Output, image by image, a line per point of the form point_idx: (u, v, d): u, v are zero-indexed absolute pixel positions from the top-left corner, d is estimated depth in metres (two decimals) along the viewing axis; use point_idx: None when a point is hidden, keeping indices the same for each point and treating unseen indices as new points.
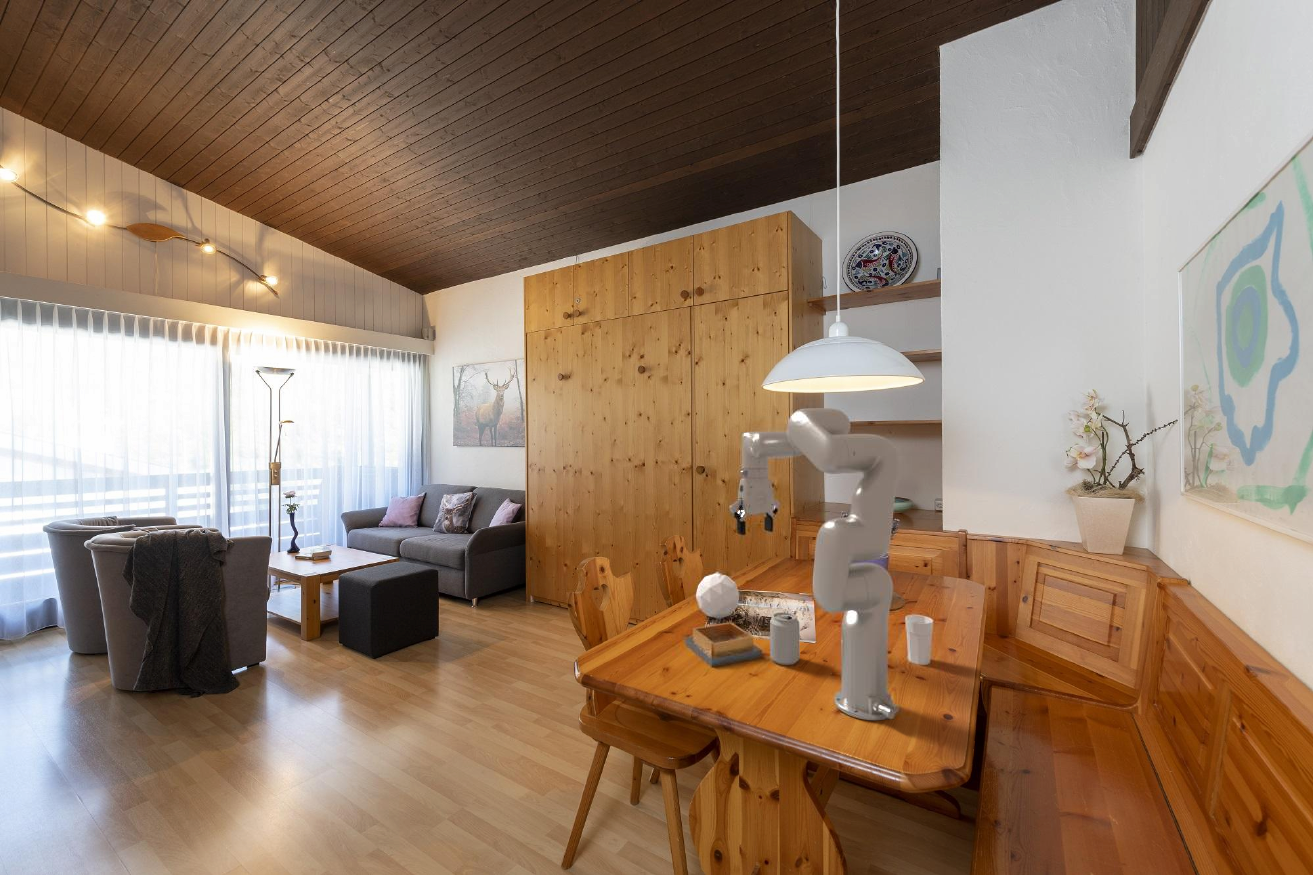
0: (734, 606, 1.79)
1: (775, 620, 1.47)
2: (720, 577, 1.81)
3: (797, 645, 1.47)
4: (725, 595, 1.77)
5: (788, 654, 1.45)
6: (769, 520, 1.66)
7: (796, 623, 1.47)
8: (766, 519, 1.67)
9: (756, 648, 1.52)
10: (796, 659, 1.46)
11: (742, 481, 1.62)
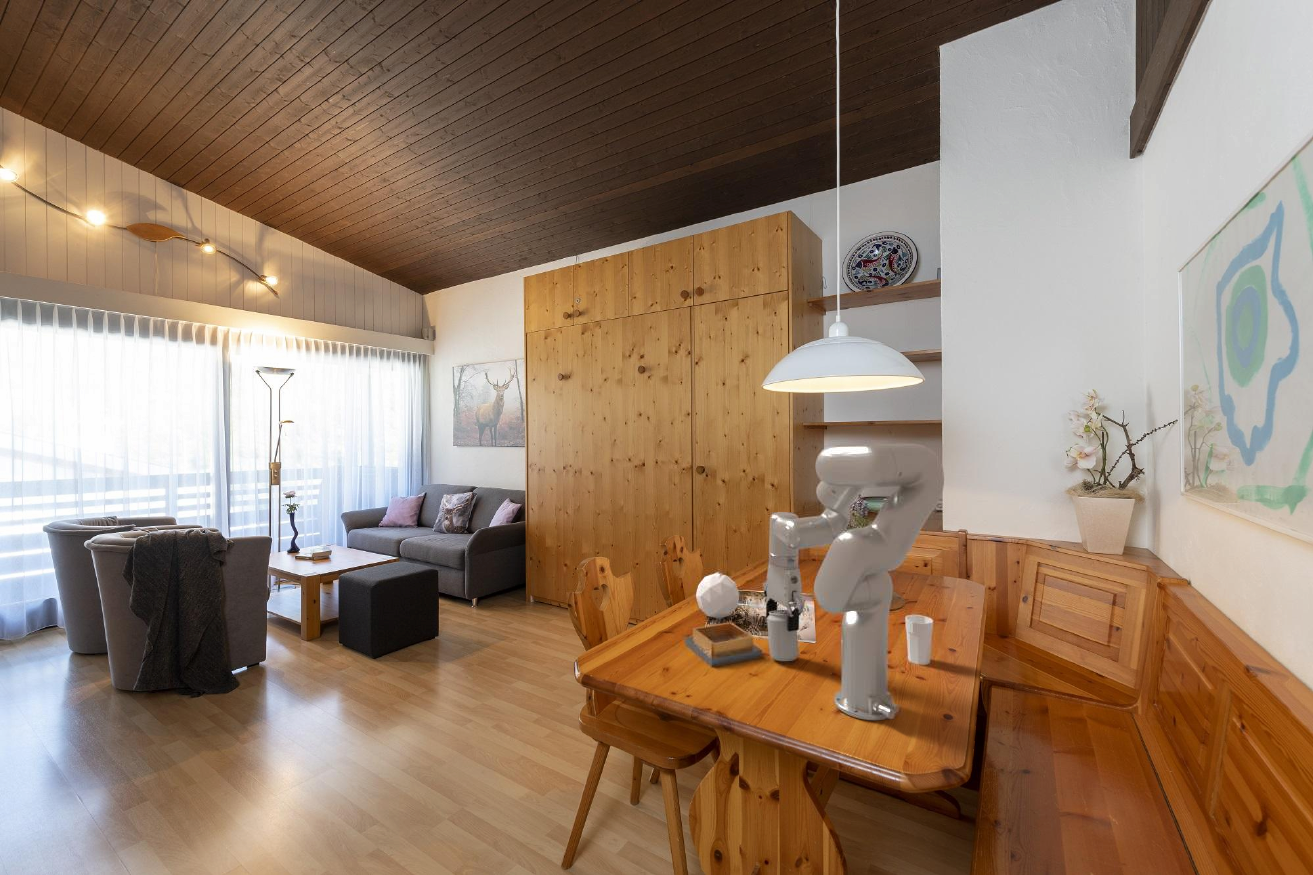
0: (734, 606, 1.79)
1: (771, 616, 1.49)
2: (720, 577, 1.81)
3: (795, 640, 1.47)
4: (725, 595, 1.77)
5: (787, 648, 1.46)
6: (775, 605, 1.54)
7: None
8: (771, 605, 1.54)
9: (756, 648, 1.52)
10: (795, 654, 1.47)
11: (793, 571, 1.45)
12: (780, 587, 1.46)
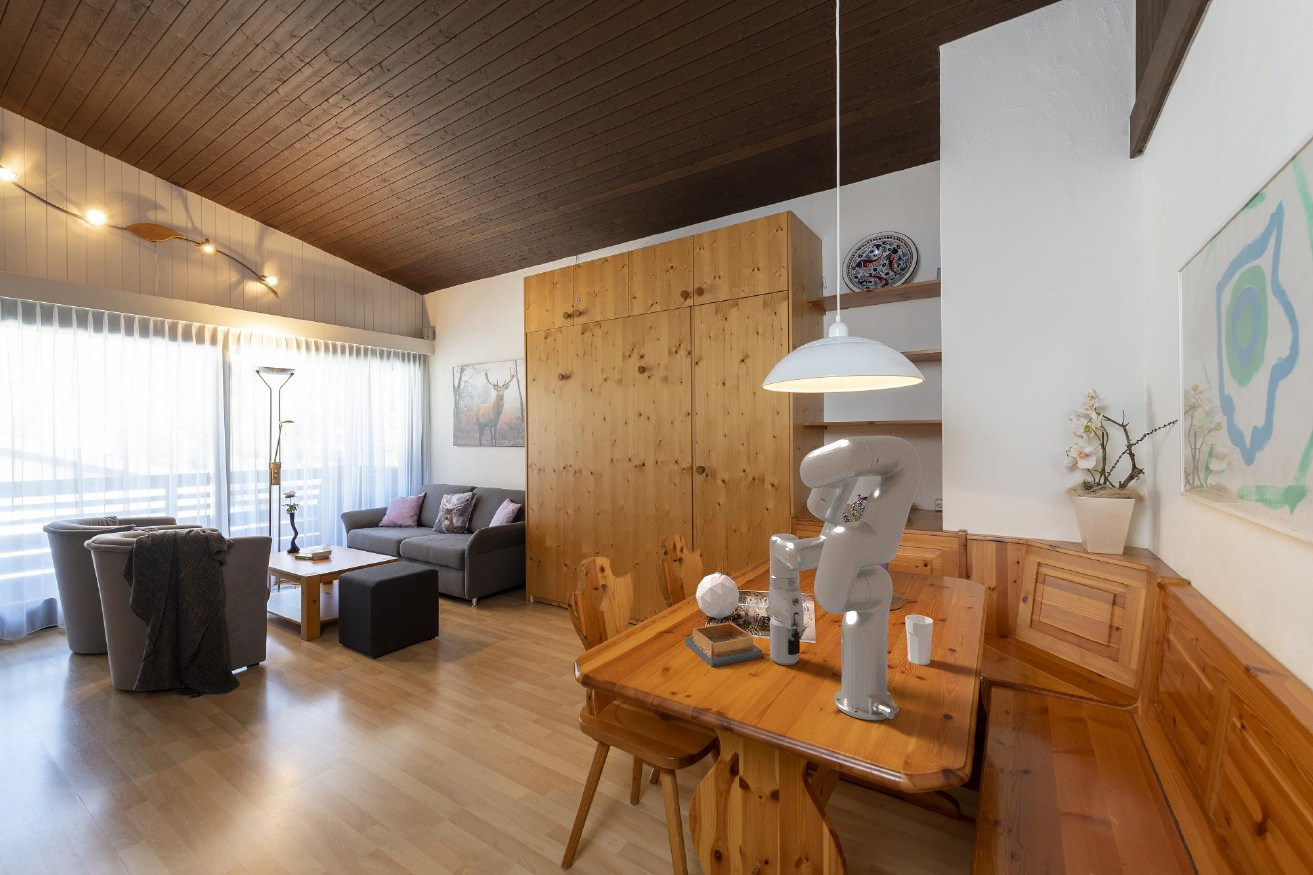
0: (734, 606, 1.79)
1: (775, 620, 1.47)
2: (720, 577, 1.81)
3: None
4: (725, 595, 1.77)
5: None
6: None
7: None
8: None
9: (756, 648, 1.52)
10: (796, 659, 1.46)
11: (795, 593, 1.44)
12: (782, 609, 1.46)
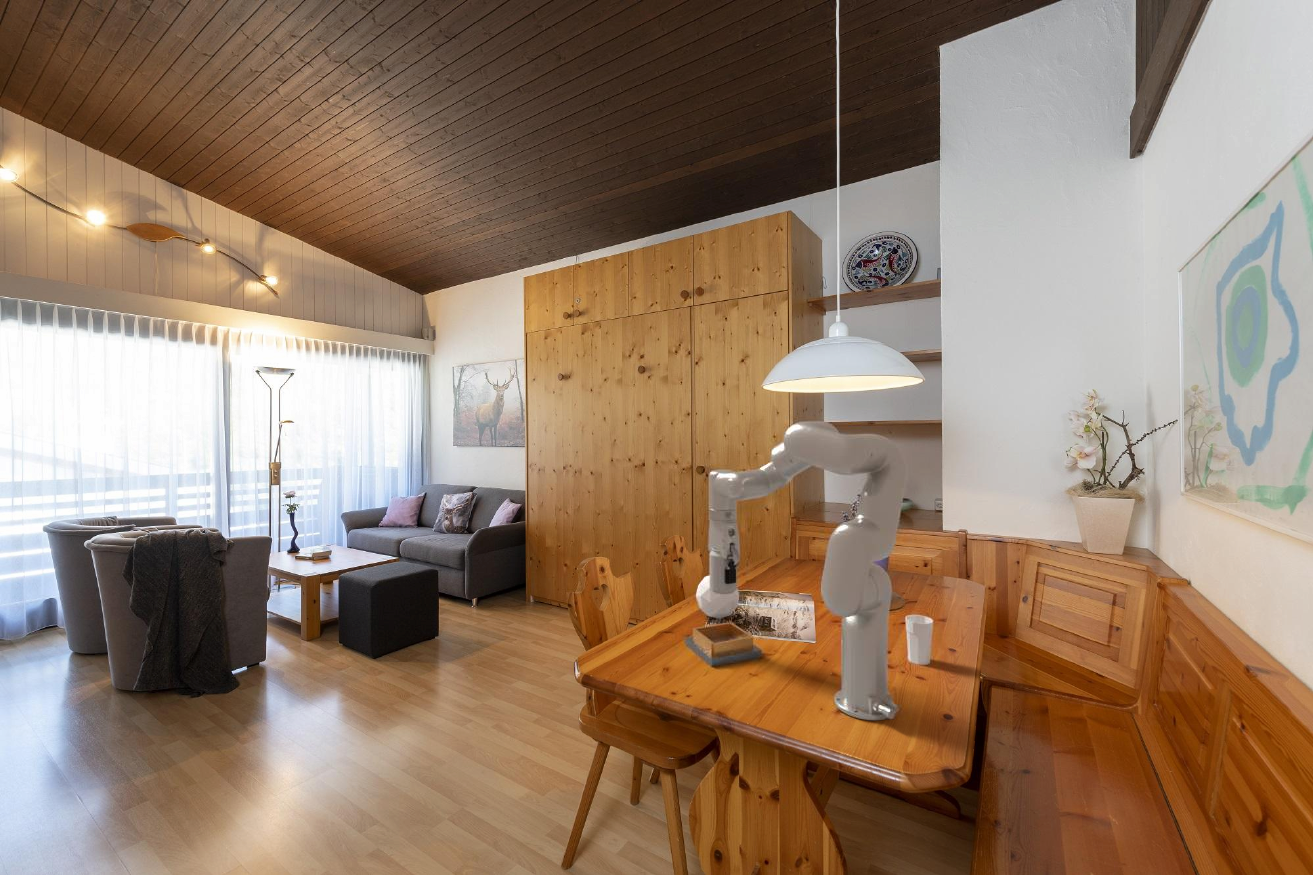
0: (734, 606, 1.79)
1: (713, 551, 1.53)
2: None
3: None
4: (725, 595, 1.77)
5: None
6: None
7: None
8: None
9: (756, 648, 1.52)
10: (733, 588, 1.52)
11: (731, 524, 1.50)
12: (719, 540, 1.52)
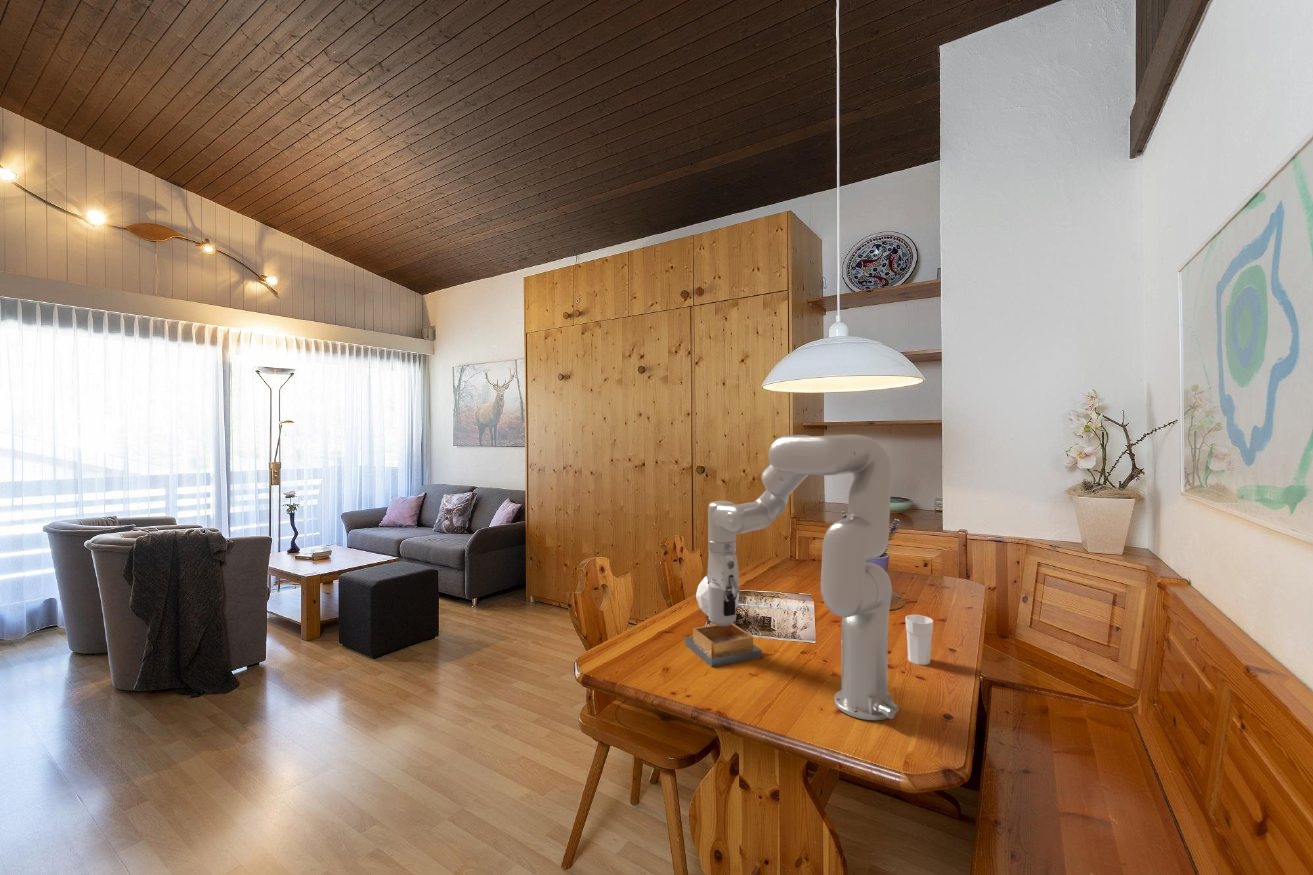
0: None
1: (712, 583, 1.54)
2: None
3: None
4: None
5: None
6: None
7: None
8: None
9: (756, 648, 1.52)
10: (732, 620, 1.53)
11: (730, 557, 1.51)
12: (718, 572, 1.52)
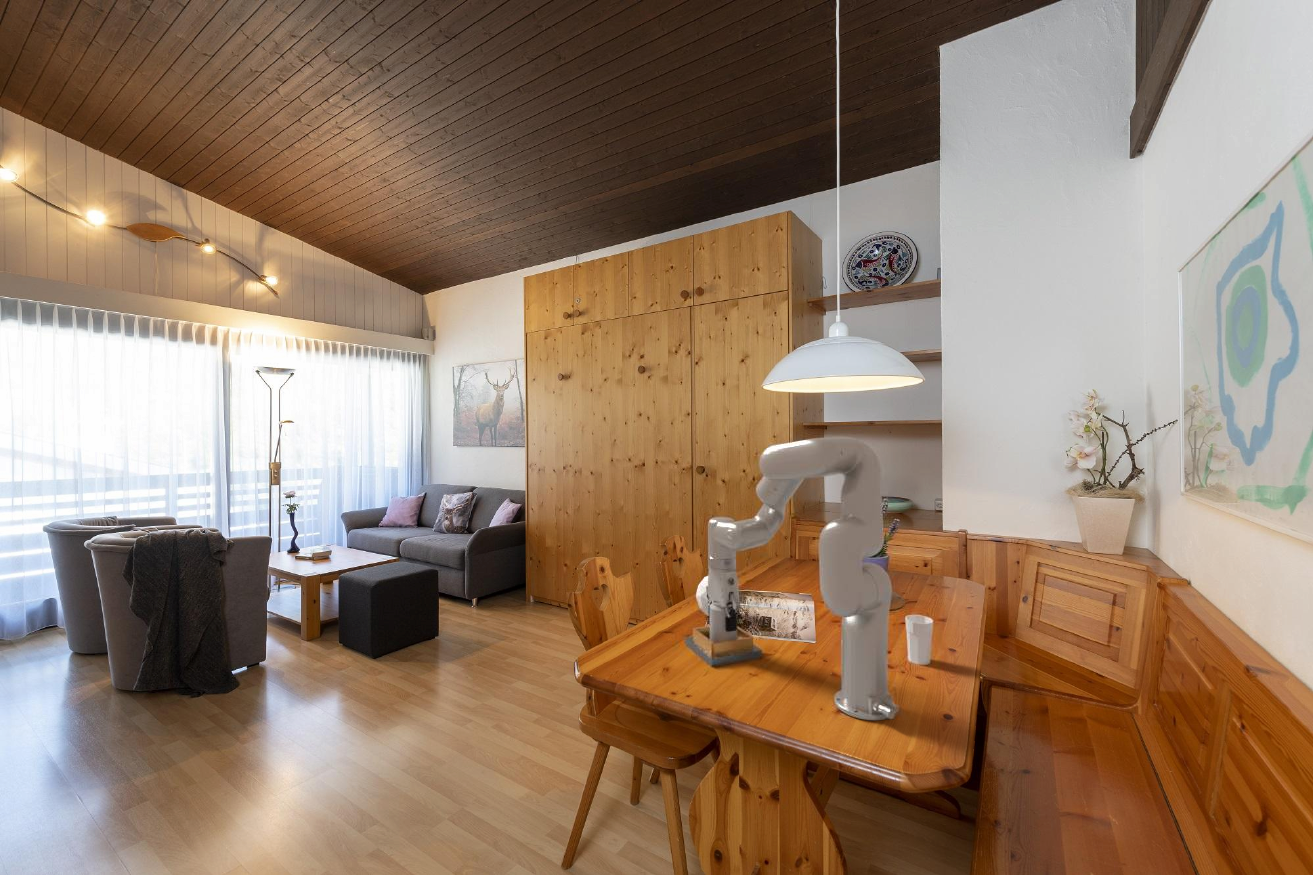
0: None
1: (713, 605, 1.54)
2: None
3: None
4: None
5: (725, 637, 1.52)
6: None
7: None
8: None
9: (756, 648, 1.52)
10: None
11: (730, 573, 1.51)
12: (718, 589, 1.52)
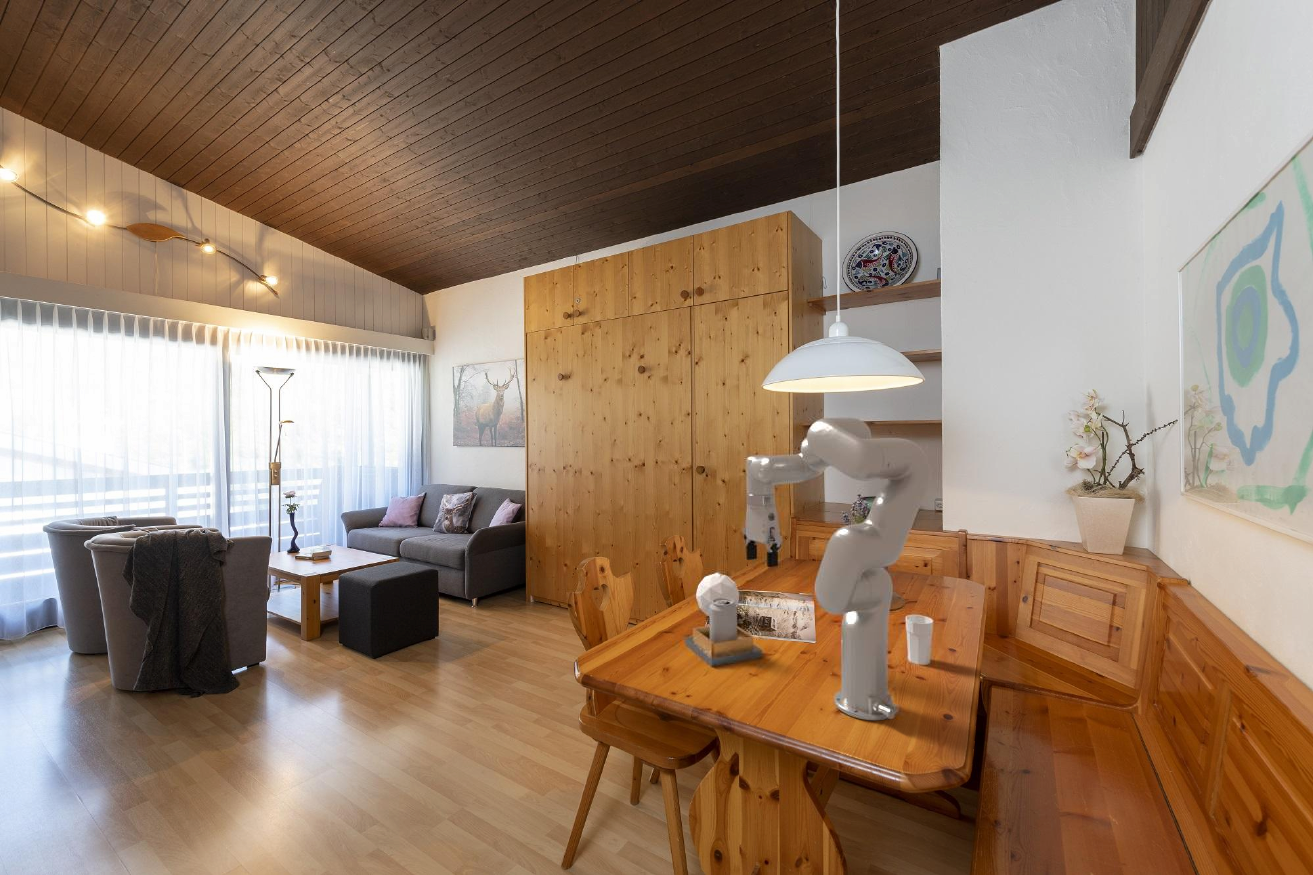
0: None
1: (713, 605, 1.54)
2: (720, 577, 1.81)
3: (734, 629, 1.53)
4: (725, 595, 1.77)
5: (725, 637, 1.52)
6: (755, 547, 1.60)
7: (733, 608, 1.53)
8: (750, 547, 1.59)
9: (756, 648, 1.52)
10: None
11: (770, 509, 1.51)
12: (758, 525, 1.52)
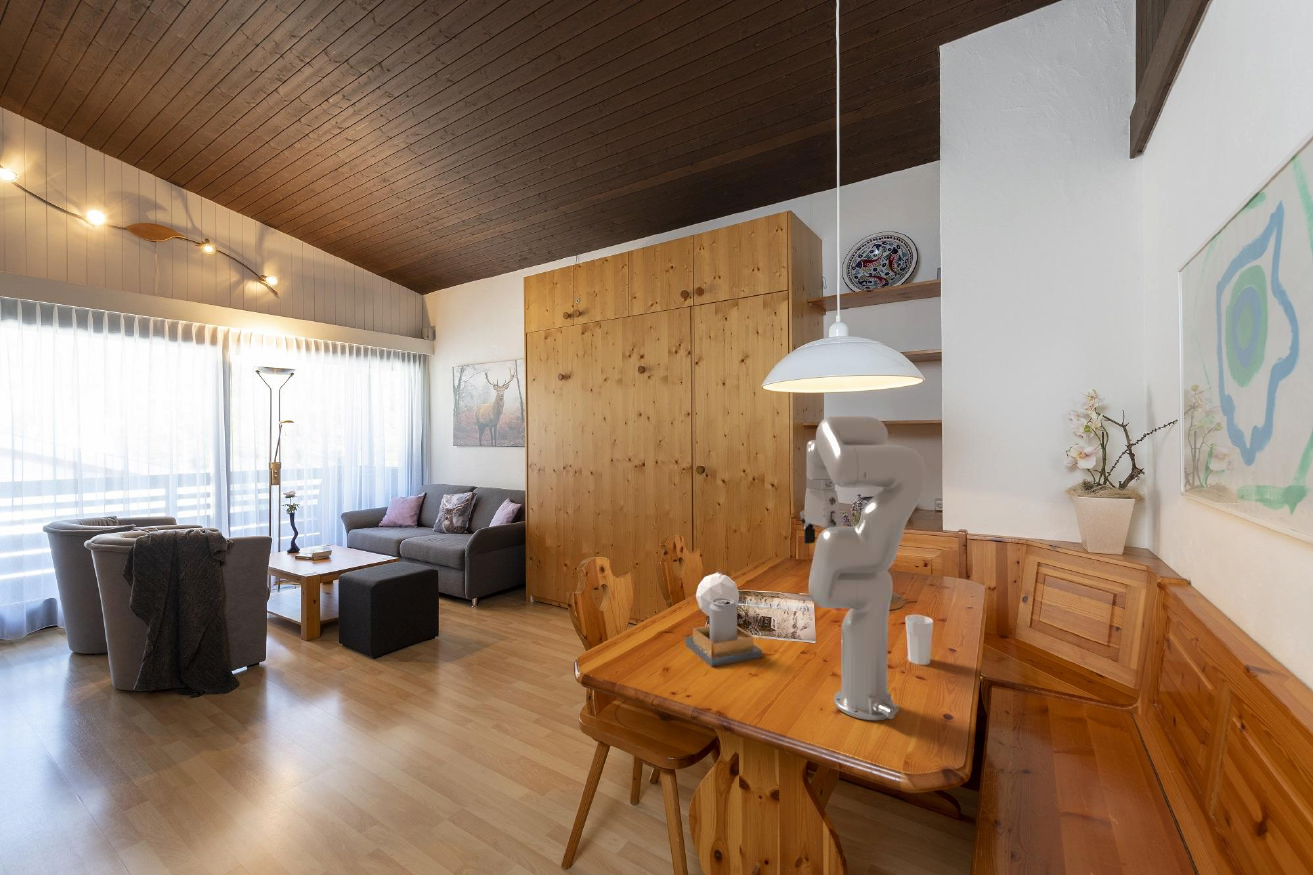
0: None
1: (713, 605, 1.54)
2: (720, 577, 1.81)
3: (734, 629, 1.53)
4: (725, 595, 1.77)
5: (725, 637, 1.52)
6: (813, 531, 1.61)
7: (733, 608, 1.53)
8: (809, 531, 1.60)
9: (756, 648, 1.52)
10: None
11: (831, 493, 1.52)
12: (819, 509, 1.53)
